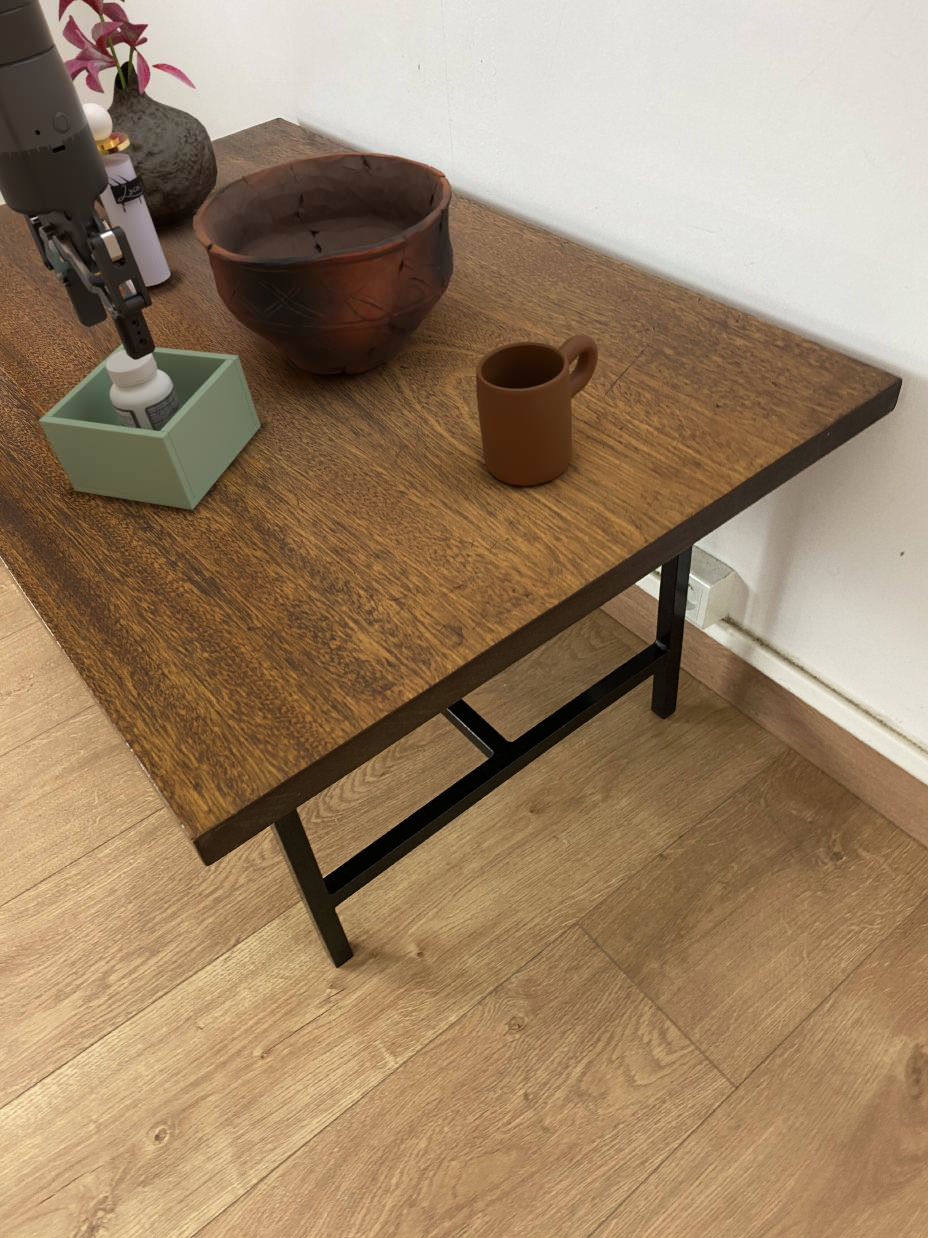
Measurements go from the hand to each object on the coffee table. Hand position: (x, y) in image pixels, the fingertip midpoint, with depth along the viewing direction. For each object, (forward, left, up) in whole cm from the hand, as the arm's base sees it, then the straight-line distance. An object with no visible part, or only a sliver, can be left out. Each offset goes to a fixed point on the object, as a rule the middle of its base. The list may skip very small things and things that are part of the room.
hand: (118, 338), depth 75 cm
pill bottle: (0, 0, -12) cm, 12 cm away
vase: (+49, +31, -13) cm, 59 cm away
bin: (0, 0, -12) cm, 12 cm away
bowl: (+22, -9, -13) cm, 27 cm away
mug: (+8, -34, -13) cm, 37 cm away
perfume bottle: (+31, +22, -13) cm, 40 cm away
